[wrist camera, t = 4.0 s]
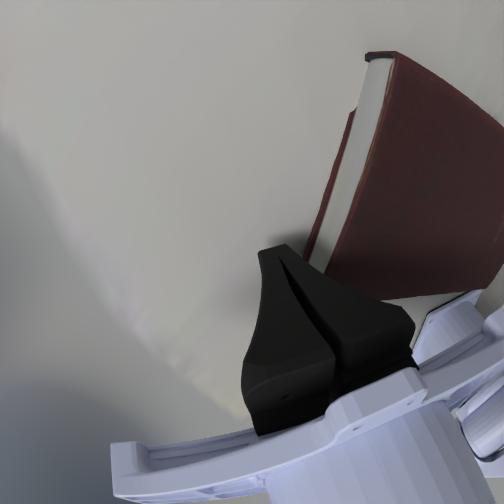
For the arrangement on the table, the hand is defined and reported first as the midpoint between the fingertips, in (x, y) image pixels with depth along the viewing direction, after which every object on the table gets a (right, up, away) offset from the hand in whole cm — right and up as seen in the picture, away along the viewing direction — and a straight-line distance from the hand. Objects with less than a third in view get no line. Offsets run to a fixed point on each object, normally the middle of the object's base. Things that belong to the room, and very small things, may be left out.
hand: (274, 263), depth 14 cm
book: (+12, +4, +3) cm, 13 cm away
